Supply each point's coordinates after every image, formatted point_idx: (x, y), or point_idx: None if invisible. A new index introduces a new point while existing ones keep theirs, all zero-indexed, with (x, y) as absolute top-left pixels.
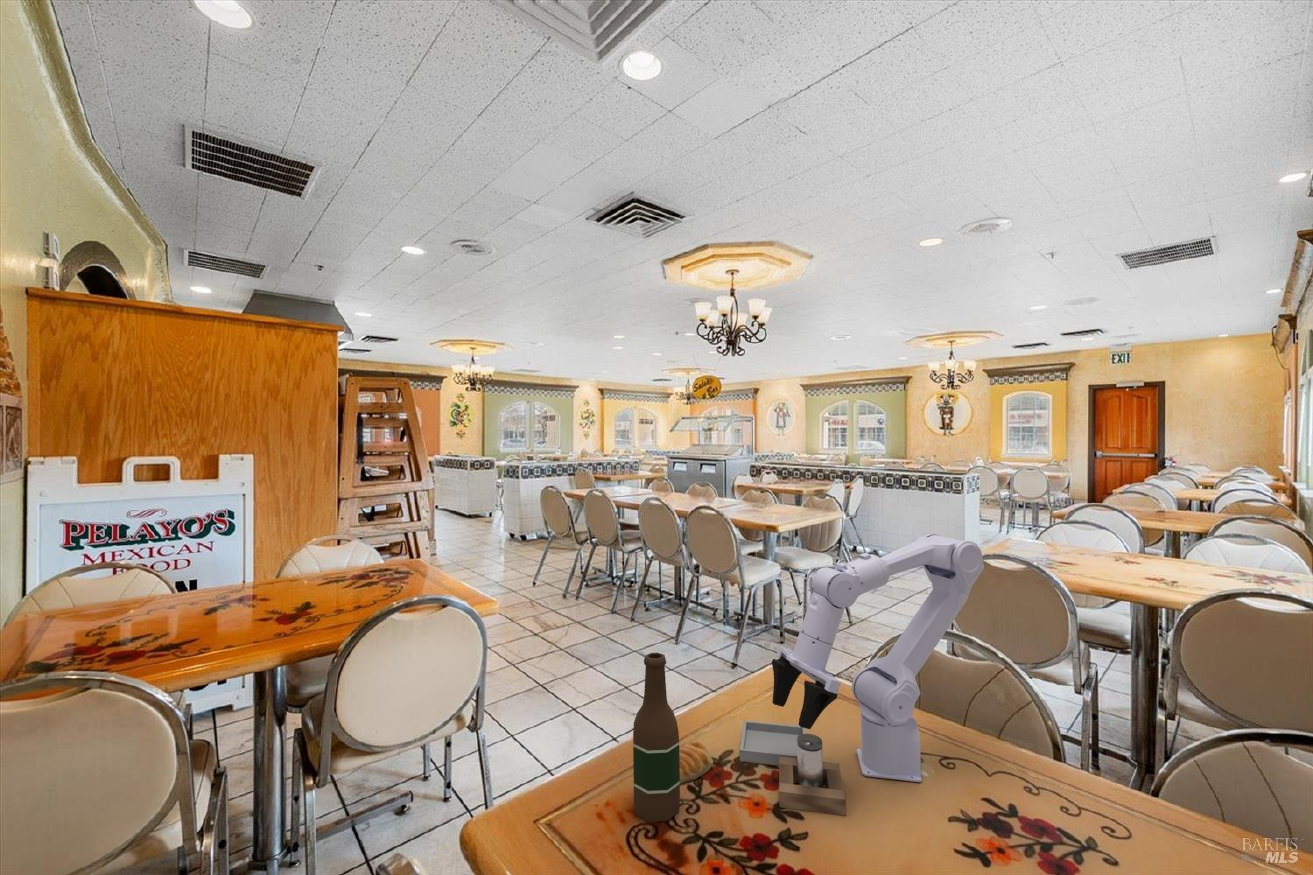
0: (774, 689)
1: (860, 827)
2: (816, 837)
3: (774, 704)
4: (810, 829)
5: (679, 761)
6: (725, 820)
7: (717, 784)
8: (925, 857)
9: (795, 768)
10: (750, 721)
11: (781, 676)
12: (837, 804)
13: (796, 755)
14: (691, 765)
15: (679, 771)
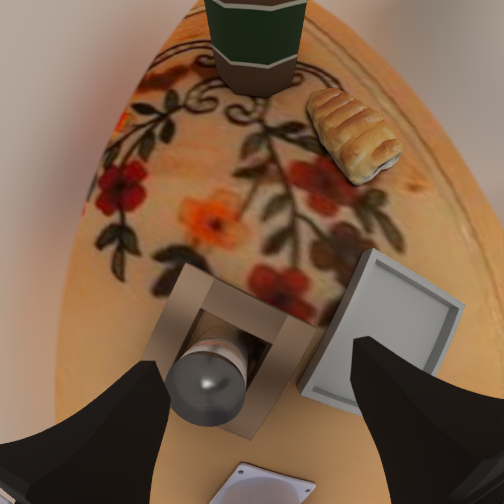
0: (398, 363)
1: (116, 373)
2: (109, 289)
3: (353, 339)
4: (126, 290)
5: (227, 34)
6: (191, 154)
7: (295, 174)
8: (62, 405)
9: (269, 348)
10: (458, 318)
11: (419, 438)
12: None
13: (317, 373)
14: (325, 121)
15: (229, 48)
